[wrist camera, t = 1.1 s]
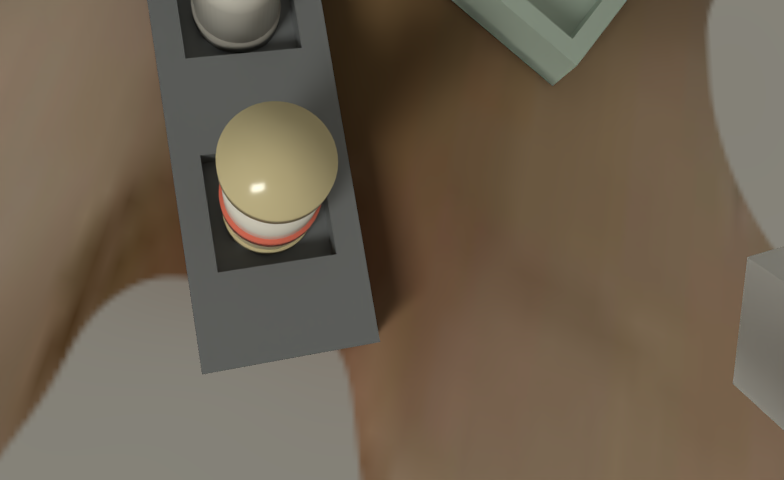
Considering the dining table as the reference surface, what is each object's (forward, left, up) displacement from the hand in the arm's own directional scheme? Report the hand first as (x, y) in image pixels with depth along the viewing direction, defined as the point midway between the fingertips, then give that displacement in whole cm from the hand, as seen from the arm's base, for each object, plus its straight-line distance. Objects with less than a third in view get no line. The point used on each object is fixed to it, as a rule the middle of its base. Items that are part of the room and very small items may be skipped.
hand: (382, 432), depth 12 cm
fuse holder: (-9, +9, -24) cm, 28 cm away
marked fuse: (-6, +5, -23) cm, 25 cm away
